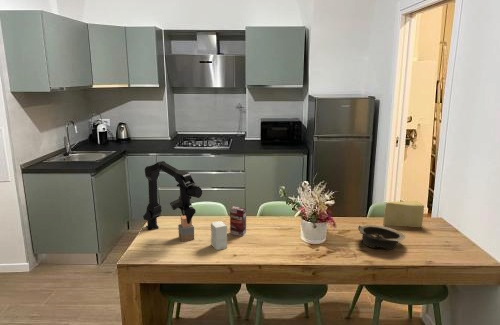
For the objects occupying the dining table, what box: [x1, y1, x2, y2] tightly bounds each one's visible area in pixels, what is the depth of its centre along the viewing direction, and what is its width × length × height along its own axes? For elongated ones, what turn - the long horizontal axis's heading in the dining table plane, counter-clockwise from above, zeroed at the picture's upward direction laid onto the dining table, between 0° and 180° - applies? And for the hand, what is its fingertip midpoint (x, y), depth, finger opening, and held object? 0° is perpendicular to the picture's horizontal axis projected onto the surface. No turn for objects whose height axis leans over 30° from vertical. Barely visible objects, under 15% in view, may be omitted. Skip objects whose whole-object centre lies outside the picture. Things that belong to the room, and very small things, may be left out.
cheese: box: [382, 200, 425, 228], centre depth 235 cm, size 22×10×15 cm, turn 88°
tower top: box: [177, 223, 195, 236], centre depth 218 cm, size 7×7×4 cm
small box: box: [210, 220, 228, 251], centre depth 207 cm, size 8×6×13 cm
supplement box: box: [229, 206, 247, 237], centre depth 223 cm, size 9×5×16 cm, turn 68°
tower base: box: [178, 231, 195, 243], centre depth 219 cm, size 7×7×4 cm
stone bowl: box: [357, 224, 406, 251], centre depth 210 cm, size 25×25×9 cm
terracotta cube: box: [180, 215, 193, 228], centre depth 217 cm, size 5×5×5 cm
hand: (186, 220), depth 217 cm, fingers open, 9 cm apart
